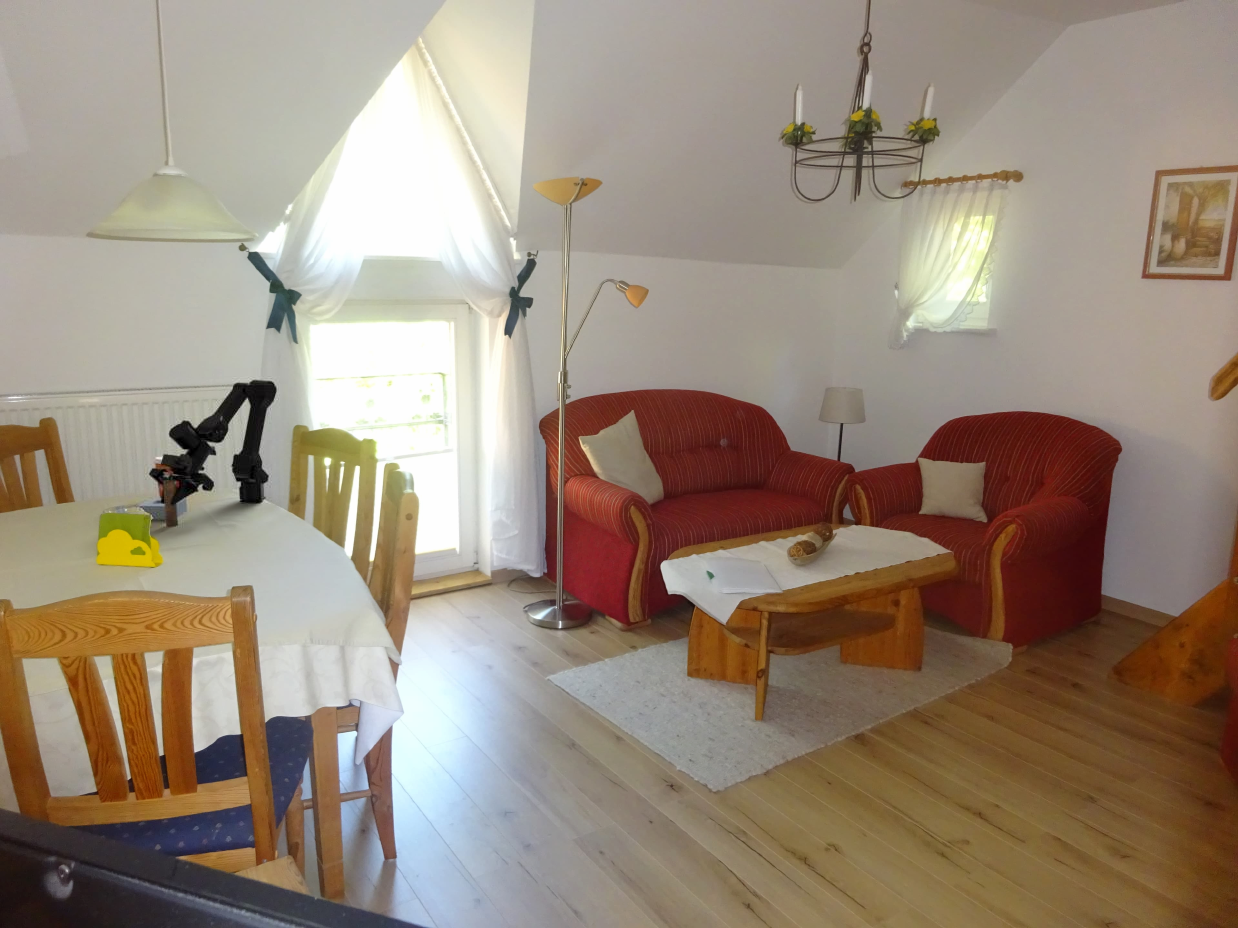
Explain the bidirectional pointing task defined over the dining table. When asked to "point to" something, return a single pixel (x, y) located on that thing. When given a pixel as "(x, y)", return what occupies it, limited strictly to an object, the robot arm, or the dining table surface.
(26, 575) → the dining table surface
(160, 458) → the paper cup
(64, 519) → the dining table surface
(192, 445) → the robot arm
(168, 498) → the dowel
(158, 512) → the socket block
